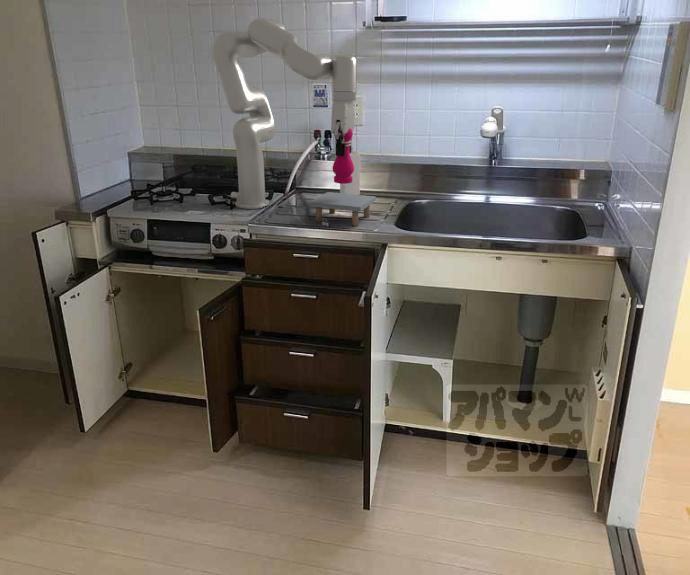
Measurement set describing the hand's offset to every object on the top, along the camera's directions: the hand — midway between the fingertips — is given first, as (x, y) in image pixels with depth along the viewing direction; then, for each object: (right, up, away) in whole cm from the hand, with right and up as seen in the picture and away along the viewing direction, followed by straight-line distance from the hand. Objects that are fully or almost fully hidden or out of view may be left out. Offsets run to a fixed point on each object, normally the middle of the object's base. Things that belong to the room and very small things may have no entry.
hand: (343, 153), depth 199 cm
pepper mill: (0, -9, +4) cm, 10 cm away
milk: (+2, -13, +27) cm, 31 cm away
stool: (0, -21, +8) cm, 22 cm away
